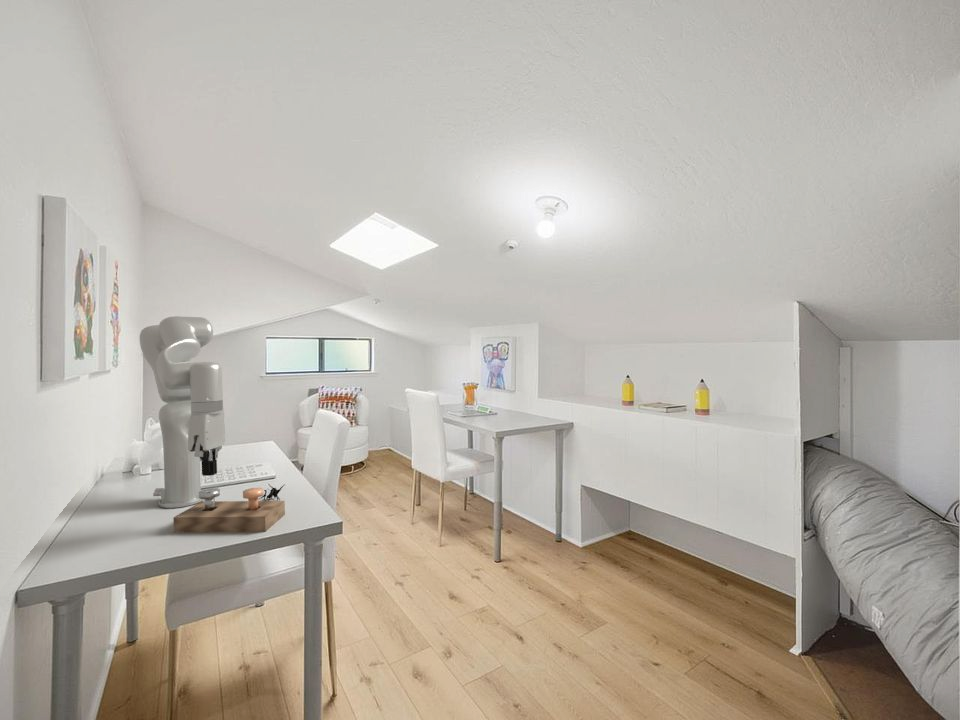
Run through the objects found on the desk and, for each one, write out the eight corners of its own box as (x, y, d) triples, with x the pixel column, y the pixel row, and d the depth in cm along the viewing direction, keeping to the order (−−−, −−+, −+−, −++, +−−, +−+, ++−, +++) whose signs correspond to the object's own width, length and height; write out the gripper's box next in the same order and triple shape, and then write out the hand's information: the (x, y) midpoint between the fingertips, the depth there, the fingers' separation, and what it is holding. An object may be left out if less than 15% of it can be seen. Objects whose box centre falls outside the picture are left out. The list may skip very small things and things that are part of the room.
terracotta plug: (239, 513, 123) (239, 493, 123) (249, 506, 128) (248, 487, 128) (258, 513, 123) (257, 493, 123) (266, 506, 128) (266, 487, 128)
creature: (274, 510, 139) (290, 496, 146) (271, 494, 137) (287, 481, 145) (251, 508, 140) (268, 494, 148) (248, 492, 139) (265, 479, 146)
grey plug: (195, 513, 123) (194, 494, 123) (206, 507, 128) (205, 488, 128) (213, 513, 123) (213, 493, 123) (224, 507, 128) (223, 488, 128)
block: (173, 532, 119) (173, 517, 119) (201, 515, 131) (201, 501, 131) (265, 531, 120) (265, 516, 119) (284, 514, 132) (284, 500, 131)
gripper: (209, 405, 132) (211, 468, 132) (175, 411, 117) (177, 482, 117) (235, 404, 132) (237, 467, 132) (204, 410, 117) (207, 482, 117)
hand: (209, 474), depth 125 cm, fingers closed
